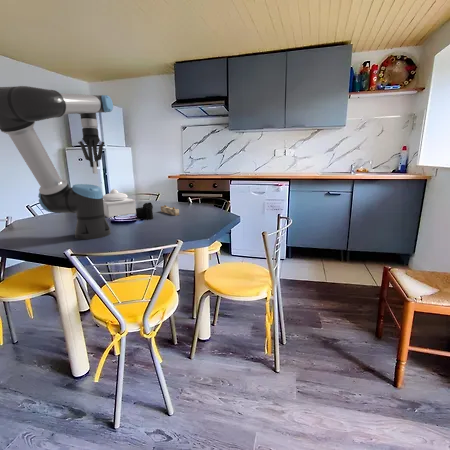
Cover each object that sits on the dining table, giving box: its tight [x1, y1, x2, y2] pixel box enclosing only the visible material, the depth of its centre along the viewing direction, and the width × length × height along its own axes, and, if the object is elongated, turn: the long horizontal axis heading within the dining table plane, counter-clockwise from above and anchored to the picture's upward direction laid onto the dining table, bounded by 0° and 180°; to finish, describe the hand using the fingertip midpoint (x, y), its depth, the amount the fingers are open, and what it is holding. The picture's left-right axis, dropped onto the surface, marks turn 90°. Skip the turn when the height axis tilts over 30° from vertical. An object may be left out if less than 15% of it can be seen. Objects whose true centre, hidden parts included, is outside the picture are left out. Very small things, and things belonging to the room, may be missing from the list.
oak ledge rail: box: [160, 204, 180, 217], centre depth 178 cm, size 18×2×4 cm, turn 41°
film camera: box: [135, 201, 154, 221], centre depth 166 cm, size 15×10×9 cm, turn 17°
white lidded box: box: [103, 188, 137, 219], centre depth 178 cm, size 18×18×16 cm
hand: (95, 173), depth 154 cm, fingers closed
